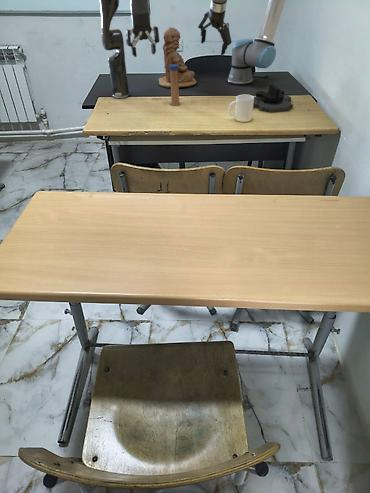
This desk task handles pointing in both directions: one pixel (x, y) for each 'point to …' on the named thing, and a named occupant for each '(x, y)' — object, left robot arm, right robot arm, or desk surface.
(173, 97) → the brown cylindrical tube
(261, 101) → the abstract sculpture
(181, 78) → the sculpture
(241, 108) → the mug
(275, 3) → the right robot arm
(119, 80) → the left robot arm
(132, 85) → the desk surface
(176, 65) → the lid
